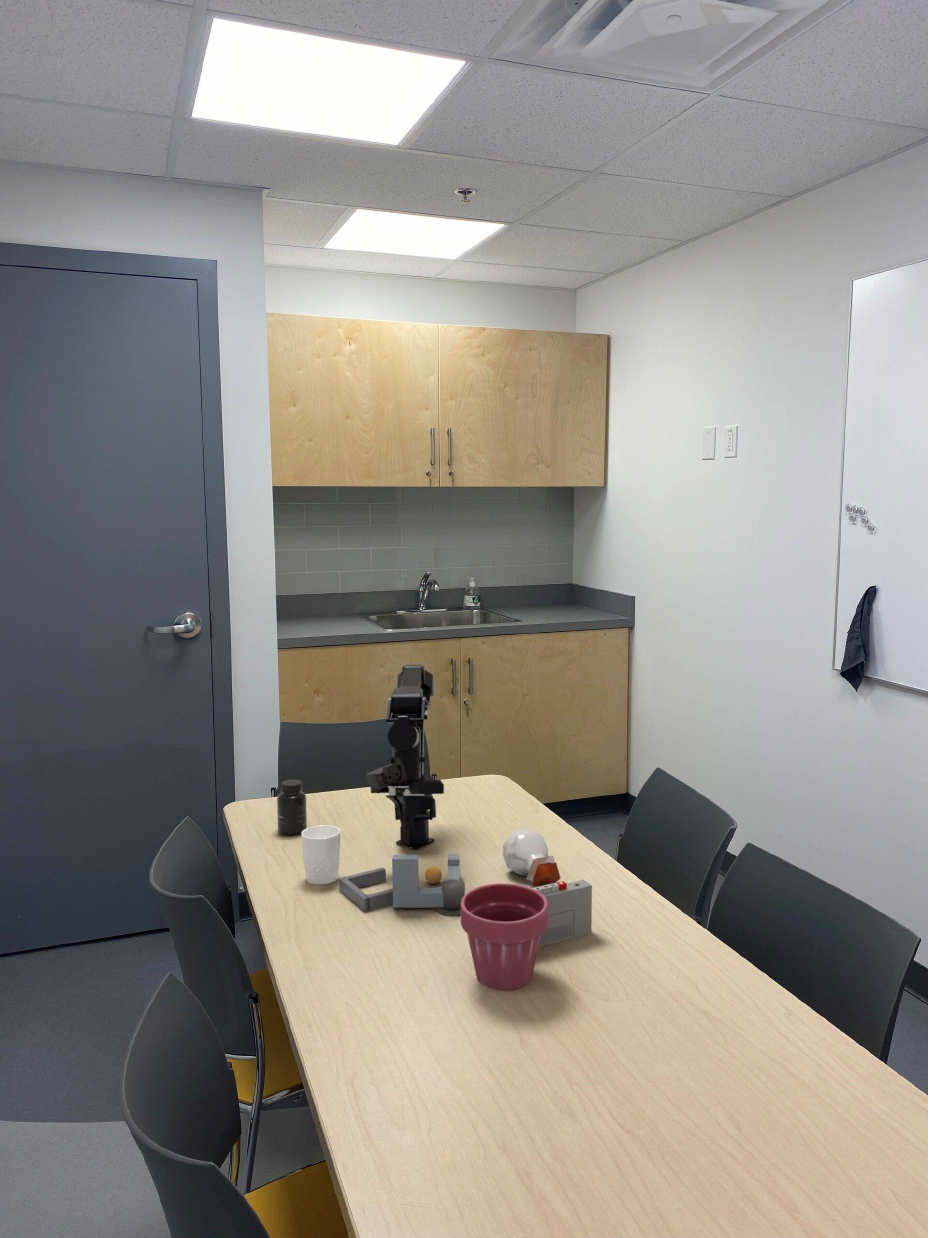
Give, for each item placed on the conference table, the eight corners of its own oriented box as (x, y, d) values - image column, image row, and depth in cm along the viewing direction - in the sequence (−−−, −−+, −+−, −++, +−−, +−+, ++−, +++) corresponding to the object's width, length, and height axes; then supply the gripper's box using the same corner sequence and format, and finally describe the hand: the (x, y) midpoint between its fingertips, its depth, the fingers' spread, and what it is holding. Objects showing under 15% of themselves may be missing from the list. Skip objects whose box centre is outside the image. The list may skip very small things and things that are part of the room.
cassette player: (582, 927, 161) (583, 874, 160) (591, 933, 159) (591, 880, 158) (507, 946, 154) (507, 891, 153) (515, 953, 152) (515, 897, 151)
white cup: (345, 871, 187) (344, 825, 186) (336, 887, 179) (335, 839, 178) (308, 870, 188) (307, 824, 187) (298, 885, 180) (296, 838, 179)
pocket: (383, 879, 183) (383, 867, 183) (409, 899, 173) (409, 887, 173) (339, 890, 178) (339, 878, 177) (364, 911, 168) (364, 899, 168)
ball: (431, 878, 183) (431, 862, 183) (445, 882, 181) (445, 865, 181) (421, 884, 180) (420, 867, 180) (434, 888, 178) (434, 871, 178)
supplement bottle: (272, 835, 209) (270, 785, 207) (286, 825, 215) (284, 777, 214) (299, 838, 207) (297, 787, 205) (312, 828, 213) (310, 779, 212)
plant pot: (542, 1004, 136) (542, 924, 134) (452, 995, 139) (451, 917, 137) (552, 958, 150) (552, 885, 148) (470, 951, 153) (469, 879, 151)
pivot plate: (435, 900, 173) (435, 898, 173) (471, 899, 173) (471, 898, 173) (434, 916, 166) (434, 915, 166) (471, 916, 166) (471, 914, 166)
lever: (398, 873, 184) (398, 829, 183) (464, 872, 184) (464, 828, 183) (392, 910, 167) (391, 861, 166) (464, 909, 167) (464, 860, 166)
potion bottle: (519, 869, 191) (550, 905, 177) (486, 850, 187) (516, 885, 173) (544, 833, 191) (577, 866, 178) (511, 813, 187) (543, 846, 173)
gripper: (349, 753, 185) (348, 830, 182) (398, 750, 170) (397, 834, 167) (394, 753, 191) (393, 828, 189) (445, 751, 177) (445, 832, 174)
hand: (406, 830), depth 179 cm, fingers closed
